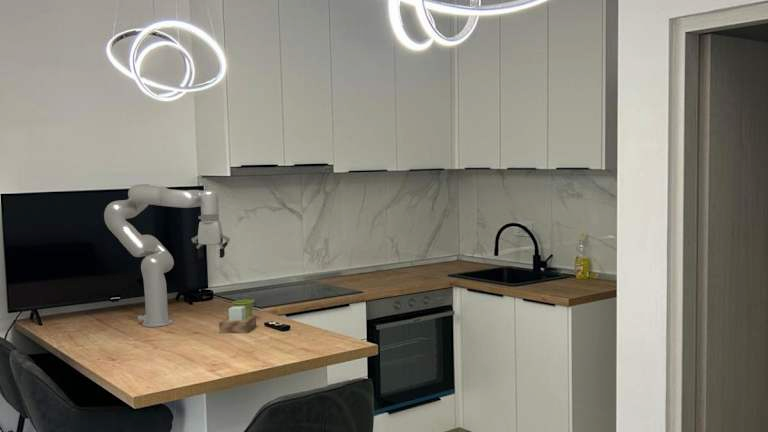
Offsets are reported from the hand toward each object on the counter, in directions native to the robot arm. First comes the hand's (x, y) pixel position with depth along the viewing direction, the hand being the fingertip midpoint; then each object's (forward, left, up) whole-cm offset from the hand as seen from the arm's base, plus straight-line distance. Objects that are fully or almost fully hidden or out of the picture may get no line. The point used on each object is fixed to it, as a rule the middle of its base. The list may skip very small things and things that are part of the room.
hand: (211, 257), depth 321 cm
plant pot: (+11, +8, -30) cm, 33 cm away
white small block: (+15, -12, -25) cm, 31 cm away
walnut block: (+15, -12, -30) cm, 36 cm away
